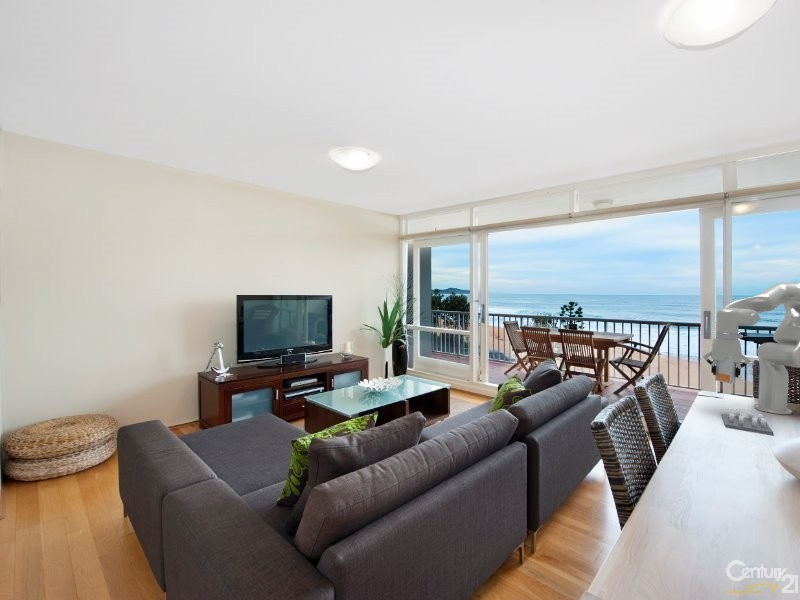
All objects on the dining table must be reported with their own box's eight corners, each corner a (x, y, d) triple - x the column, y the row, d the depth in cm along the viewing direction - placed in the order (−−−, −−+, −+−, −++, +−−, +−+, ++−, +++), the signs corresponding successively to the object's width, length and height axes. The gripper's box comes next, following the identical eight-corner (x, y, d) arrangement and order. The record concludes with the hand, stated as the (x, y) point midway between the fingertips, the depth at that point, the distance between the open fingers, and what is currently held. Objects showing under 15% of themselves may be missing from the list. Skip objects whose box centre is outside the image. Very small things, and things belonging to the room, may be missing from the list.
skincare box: (714, 380, 170) (715, 354, 170) (719, 379, 172) (720, 353, 172) (730, 383, 165) (731, 357, 164) (736, 382, 167) (737, 356, 166)
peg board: (721, 416, 166) (721, 405, 166) (765, 423, 158) (765, 412, 158) (725, 427, 153) (726, 415, 153) (773, 435, 145) (773, 423, 145)
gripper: (751, 337, 166) (750, 377, 166) (701, 334, 176) (700, 371, 177) (754, 339, 160) (753, 380, 160) (702, 336, 170) (701, 374, 171)
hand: (725, 375), depth 168 cm, fingers closed on skincare box, 7 cm apart
